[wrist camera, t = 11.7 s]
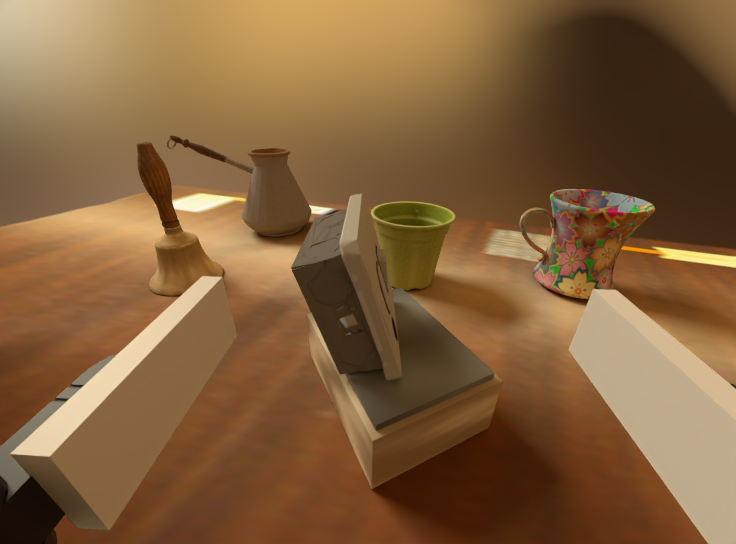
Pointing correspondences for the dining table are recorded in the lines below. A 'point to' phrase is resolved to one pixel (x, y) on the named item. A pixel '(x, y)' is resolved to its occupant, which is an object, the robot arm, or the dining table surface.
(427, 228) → the plant pot
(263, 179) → the coffee pot
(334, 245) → the electrical switch
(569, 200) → the mug
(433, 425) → the birch stand
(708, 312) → the dining table surface
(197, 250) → the hand bell
